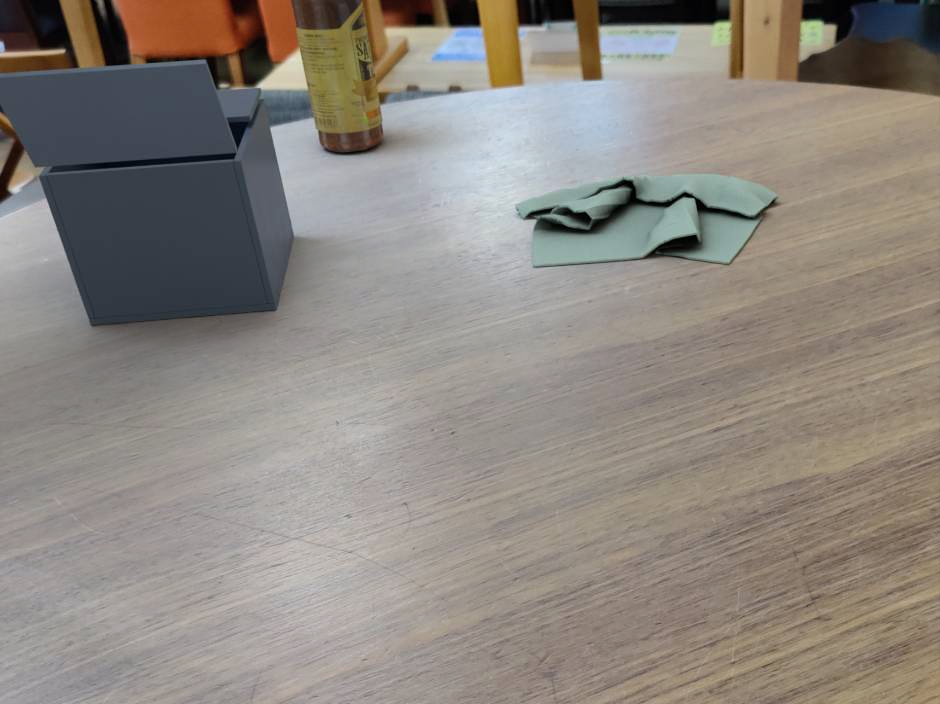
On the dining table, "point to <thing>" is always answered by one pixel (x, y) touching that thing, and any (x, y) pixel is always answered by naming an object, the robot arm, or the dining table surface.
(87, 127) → the flap
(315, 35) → the sauce bottle
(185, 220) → the carton
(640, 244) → the cloth
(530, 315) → the dining table surface
